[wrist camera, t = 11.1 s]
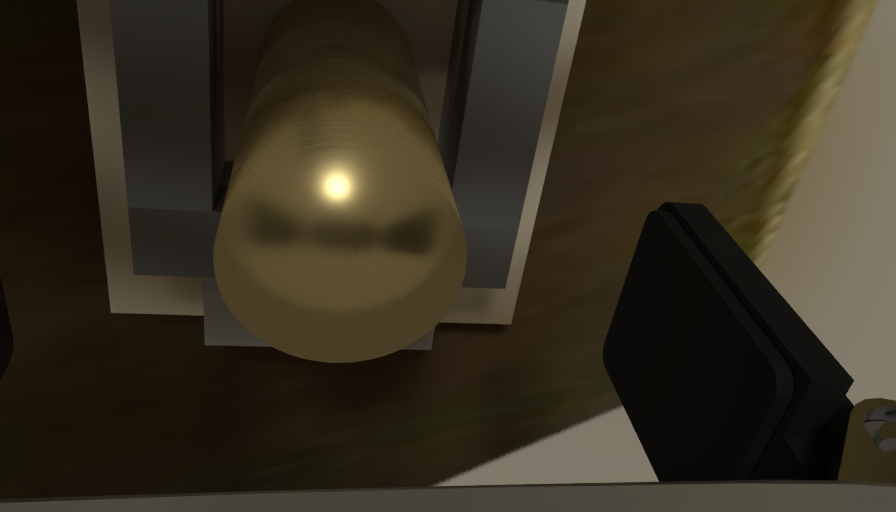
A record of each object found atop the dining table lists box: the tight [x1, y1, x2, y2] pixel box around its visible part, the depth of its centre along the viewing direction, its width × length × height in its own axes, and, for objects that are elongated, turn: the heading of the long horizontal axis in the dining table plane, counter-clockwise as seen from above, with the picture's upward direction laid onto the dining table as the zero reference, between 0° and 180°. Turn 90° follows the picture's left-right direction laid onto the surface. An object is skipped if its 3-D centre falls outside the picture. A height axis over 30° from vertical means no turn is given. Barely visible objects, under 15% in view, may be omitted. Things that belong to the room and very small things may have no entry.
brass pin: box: [213, 0, 467, 363], centre depth 16 cm, size 4×4×10 cm
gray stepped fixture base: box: [76, 0, 586, 350], centre depth 20 cm, size 17×13×4 cm
